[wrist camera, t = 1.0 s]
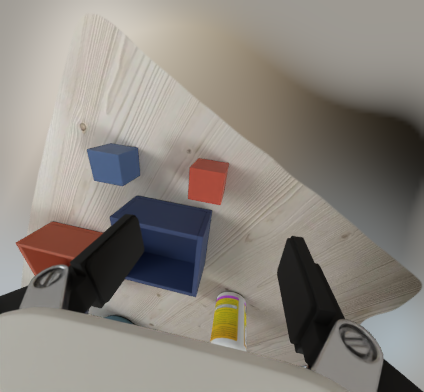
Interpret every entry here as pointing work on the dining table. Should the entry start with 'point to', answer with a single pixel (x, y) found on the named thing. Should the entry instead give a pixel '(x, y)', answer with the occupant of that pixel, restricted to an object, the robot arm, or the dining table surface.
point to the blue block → (114, 163)
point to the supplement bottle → (229, 321)
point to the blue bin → (169, 243)
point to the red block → (207, 181)
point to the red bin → (55, 245)
